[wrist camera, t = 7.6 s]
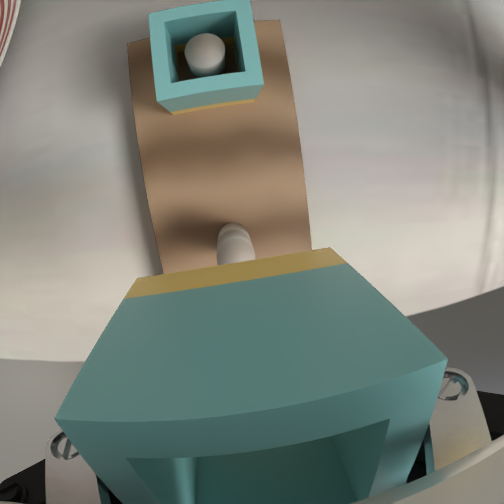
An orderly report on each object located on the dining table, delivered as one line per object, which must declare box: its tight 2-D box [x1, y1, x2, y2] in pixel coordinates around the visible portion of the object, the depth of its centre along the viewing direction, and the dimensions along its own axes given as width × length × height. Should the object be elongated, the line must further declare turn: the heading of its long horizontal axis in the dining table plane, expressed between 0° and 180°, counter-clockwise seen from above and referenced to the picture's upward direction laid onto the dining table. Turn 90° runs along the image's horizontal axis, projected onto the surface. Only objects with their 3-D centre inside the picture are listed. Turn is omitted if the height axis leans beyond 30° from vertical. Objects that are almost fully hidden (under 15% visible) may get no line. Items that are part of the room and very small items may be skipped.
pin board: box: [127, 20, 312, 274], centre depth 21 cm, size 21×12×7 cm, turn 8°
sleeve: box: [55, 247, 448, 504], centre depth 7 cm, size 6×6×6 cm
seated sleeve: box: [148, 0, 264, 115], centre depth 18 cm, size 6×6×6 cm
